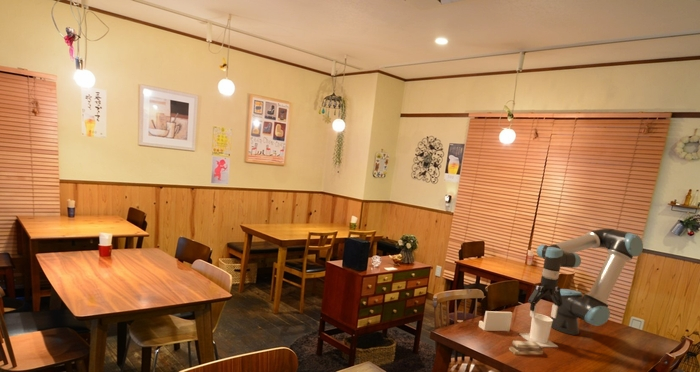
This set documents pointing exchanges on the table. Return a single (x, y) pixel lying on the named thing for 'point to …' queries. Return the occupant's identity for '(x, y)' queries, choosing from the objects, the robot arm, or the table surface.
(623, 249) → the robot arm
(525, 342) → the offcut stack
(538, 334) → the candle holder
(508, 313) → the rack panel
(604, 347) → the table surface
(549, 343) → the felt pad
